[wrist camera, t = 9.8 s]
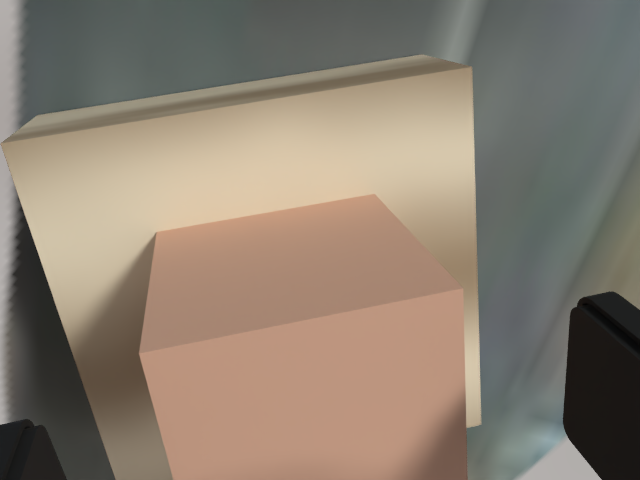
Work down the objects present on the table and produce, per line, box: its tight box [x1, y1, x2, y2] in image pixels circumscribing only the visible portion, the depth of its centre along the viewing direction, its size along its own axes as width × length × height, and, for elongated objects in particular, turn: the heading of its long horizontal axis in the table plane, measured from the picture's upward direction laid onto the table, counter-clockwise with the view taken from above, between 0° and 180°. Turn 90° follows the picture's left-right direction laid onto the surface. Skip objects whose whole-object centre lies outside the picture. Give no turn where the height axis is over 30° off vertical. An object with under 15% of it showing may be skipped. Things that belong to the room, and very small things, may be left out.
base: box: [1, 55, 481, 480], centre depth 18 cm, size 11×11×4 cm
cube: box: [139, 194, 468, 480], centre depth 14 cm, size 6×6×6 cm
